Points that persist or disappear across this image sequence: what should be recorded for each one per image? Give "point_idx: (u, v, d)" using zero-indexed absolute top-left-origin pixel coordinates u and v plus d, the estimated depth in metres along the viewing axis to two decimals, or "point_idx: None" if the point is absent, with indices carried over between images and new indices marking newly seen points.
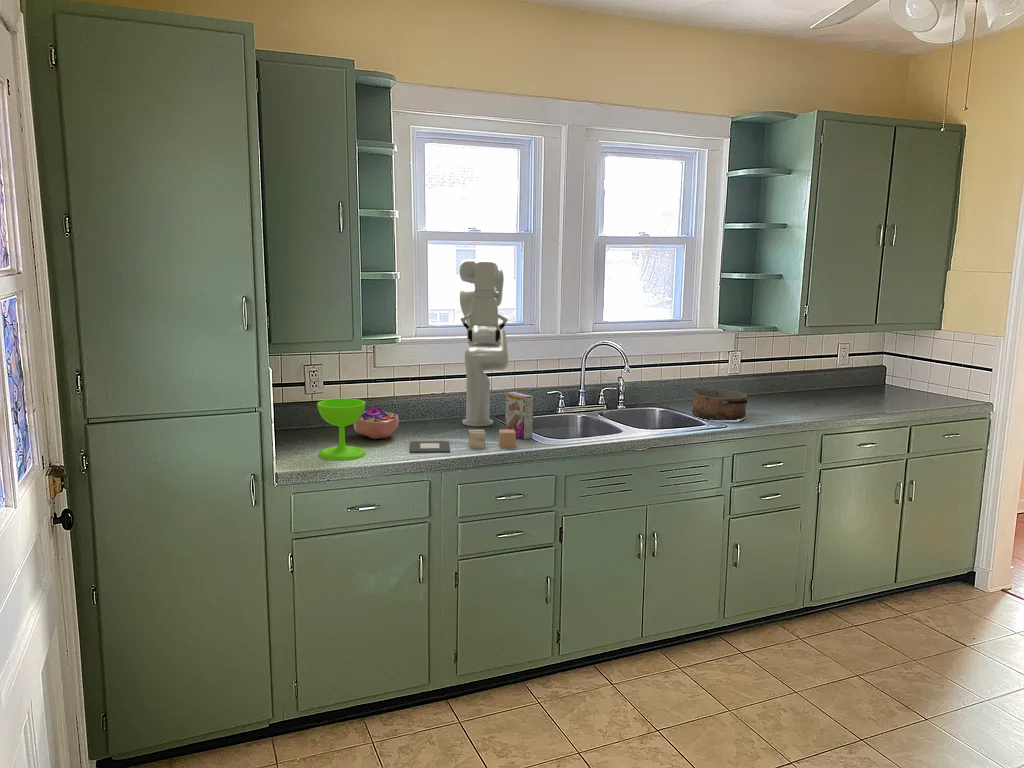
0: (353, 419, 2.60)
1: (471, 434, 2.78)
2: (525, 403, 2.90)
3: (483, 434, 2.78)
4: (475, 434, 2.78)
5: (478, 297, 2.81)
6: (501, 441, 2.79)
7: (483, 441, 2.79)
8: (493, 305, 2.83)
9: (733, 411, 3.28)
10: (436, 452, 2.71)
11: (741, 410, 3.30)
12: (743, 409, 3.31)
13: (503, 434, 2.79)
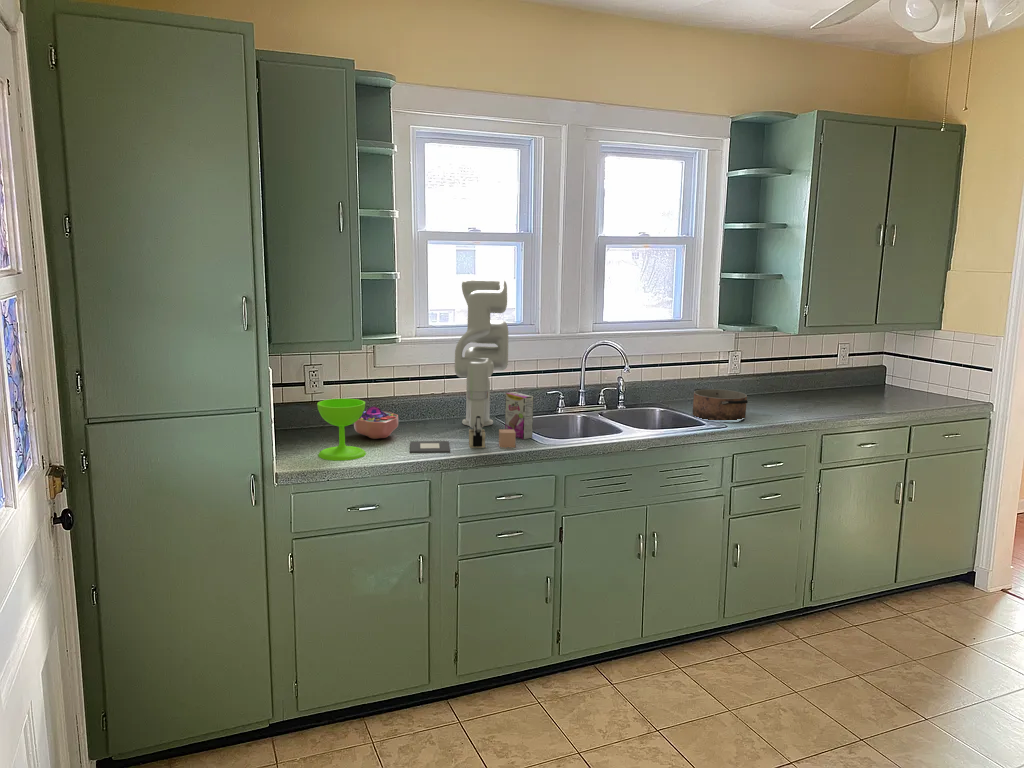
0: (353, 419, 2.60)
1: (471, 434, 2.78)
2: (525, 403, 2.90)
3: (483, 434, 2.78)
4: None
5: (485, 399, 2.76)
6: (501, 441, 2.79)
7: (483, 441, 2.79)
8: None
9: (733, 411, 3.28)
10: (436, 452, 2.71)
11: (741, 410, 3.30)
12: (743, 409, 3.31)
13: (503, 434, 2.79)
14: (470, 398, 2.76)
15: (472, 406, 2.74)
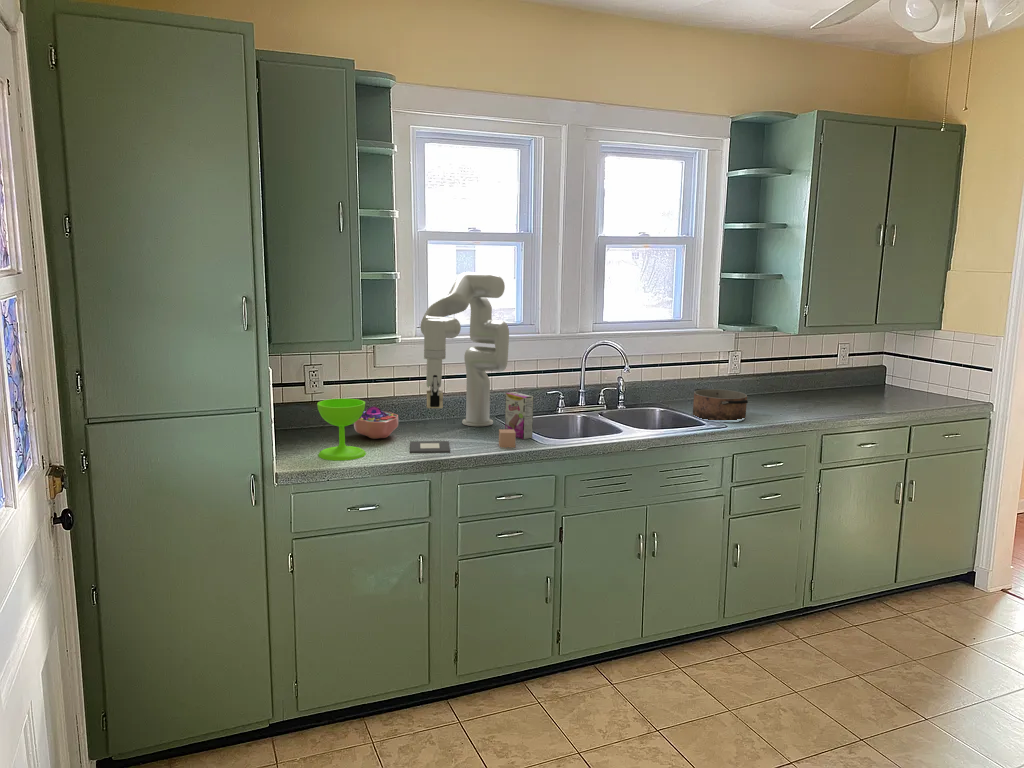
0: (353, 419, 2.60)
1: (428, 394, 2.71)
2: (525, 403, 2.90)
3: (441, 394, 2.72)
4: None
5: (443, 357, 2.70)
6: (501, 441, 2.79)
7: (441, 401, 2.72)
8: None
9: (733, 411, 3.27)
10: (436, 452, 2.71)
11: (741, 410, 3.30)
12: (743, 409, 3.31)
13: (503, 434, 2.79)
14: (426, 357, 2.69)
15: (429, 365, 2.68)
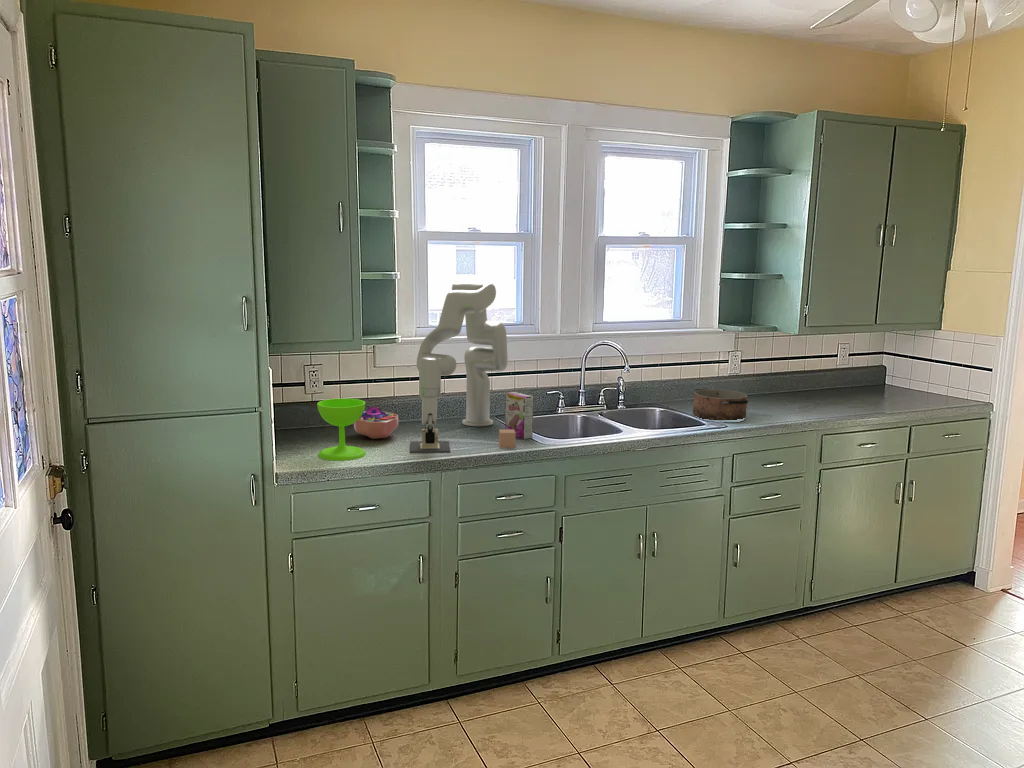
0: (353, 419, 2.60)
1: (423, 433, 2.73)
2: (525, 403, 2.90)
3: (436, 433, 2.74)
4: None
5: (438, 395, 2.72)
6: (501, 441, 2.79)
7: (436, 440, 2.74)
8: None
9: (733, 411, 3.27)
10: (436, 452, 2.71)
11: (742, 410, 3.30)
12: (744, 409, 3.31)
13: (503, 434, 2.79)
14: (422, 395, 2.71)
15: (424, 403, 2.70)
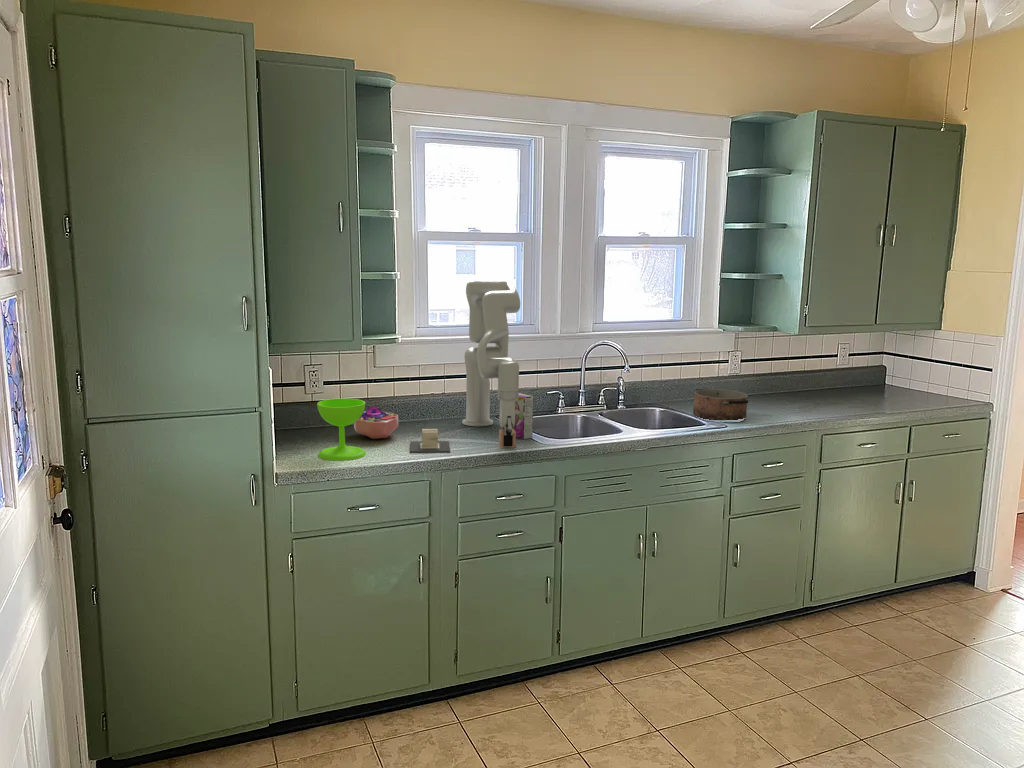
0: (353, 419, 2.60)
1: (423, 433, 2.73)
2: (525, 403, 2.90)
3: (436, 433, 2.74)
4: (427, 433, 2.74)
5: (516, 398, 2.77)
6: (501, 441, 2.79)
7: (436, 440, 2.74)
8: None
9: (734, 411, 3.27)
10: (436, 452, 2.71)
11: (742, 410, 3.30)
12: (744, 409, 3.31)
13: (503, 434, 2.79)
14: (500, 398, 2.77)
15: (503, 406, 2.75)
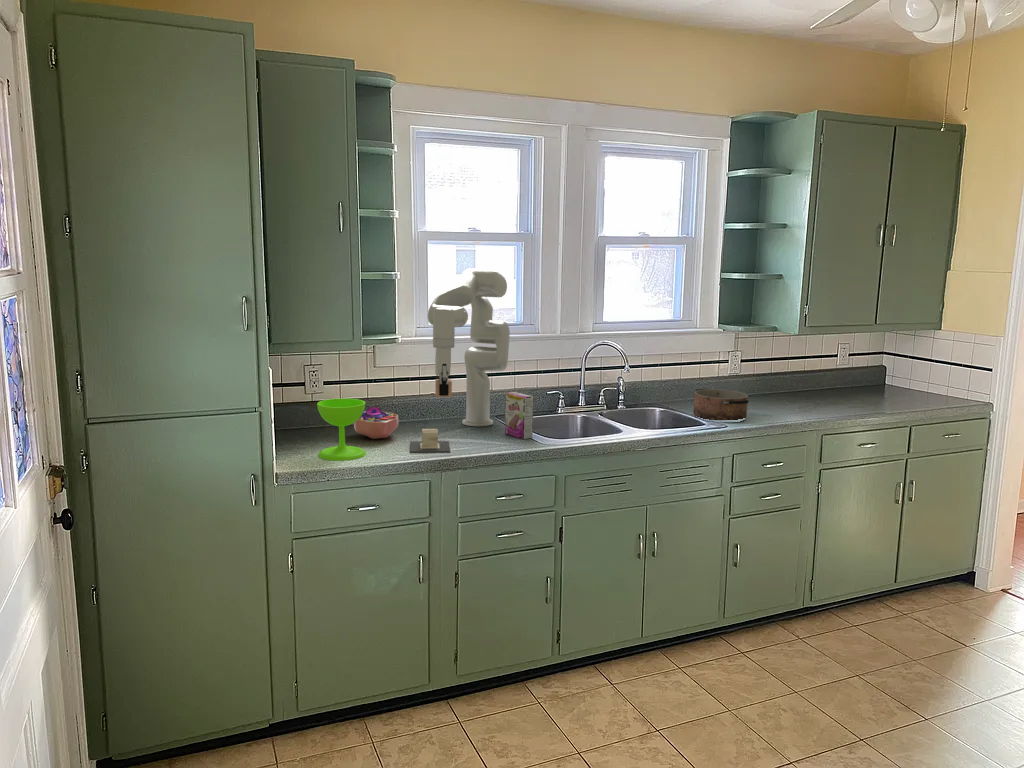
0: (353, 419, 2.60)
1: (423, 433, 2.73)
2: (525, 403, 2.90)
3: (436, 433, 2.74)
4: (427, 433, 2.74)
5: (452, 346, 2.70)
6: (437, 390, 2.71)
7: (436, 440, 2.74)
8: None
9: (734, 411, 3.27)
10: (436, 452, 2.71)
11: (742, 410, 3.30)
12: (744, 409, 3.31)
13: (439, 383, 2.71)
14: (435, 346, 2.69)
15: (438, 353, 2.68)
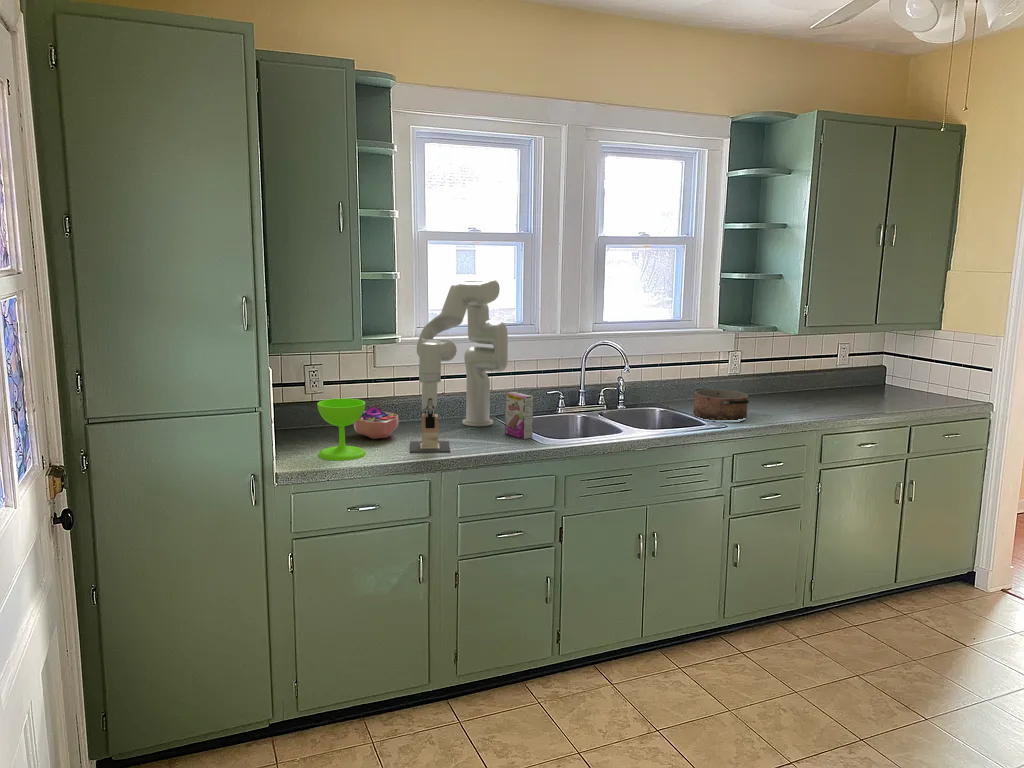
0: (353, 419, 2.60)
1: (423, 433, 2.73)
2: (525, 403, 2.90)
3: (436, 433, 2.74)
4: (427, 433, 2.74)
5: (438, 381, 2.71)
6: (423, 426, 2.73)
7: (436, 440, 2.74)
8: None
9: (734, 411, 3.27)
10: (436, 452, 2.71)
11: (742, 410, 3.30)
12: (744, 409, 3.31)
13: (425, 418, 2.73)
14: (422, 380, 2.71)
15: (424, 388, 2.69)
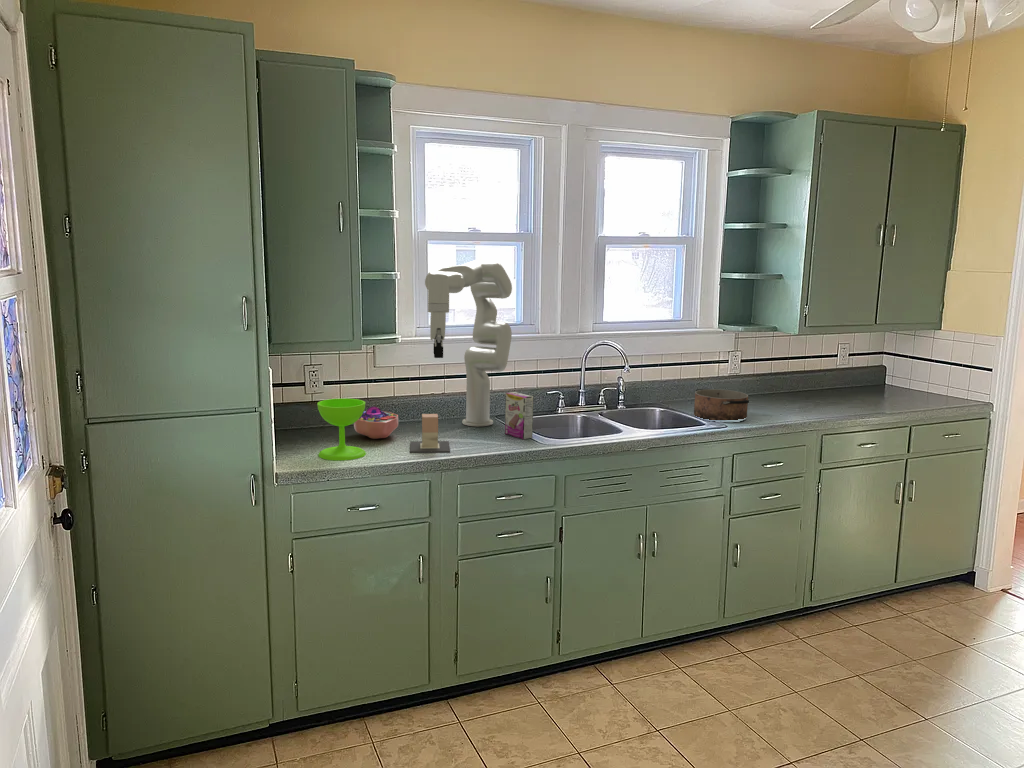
0: (353, 419, 2.60)
1: (423, 433, 2.73)
2: (525, 403, 2.90)
3: (436, 433, 2.74)
4: (427, 433, 2.74)
5: (446, 311, 2.73)
6: (423, 426, 2.73)
7: (436, 440, 2.74)
8: None
9: (734, 411, 3.27)
10: (436, 452, 2.71)
11: (743, 410, 3.30)
12: (745, 409, 3.31)
13: (425, 418, 2.73)
14: (430, 311, 2.73)
15: (432, 318, 2.71)
